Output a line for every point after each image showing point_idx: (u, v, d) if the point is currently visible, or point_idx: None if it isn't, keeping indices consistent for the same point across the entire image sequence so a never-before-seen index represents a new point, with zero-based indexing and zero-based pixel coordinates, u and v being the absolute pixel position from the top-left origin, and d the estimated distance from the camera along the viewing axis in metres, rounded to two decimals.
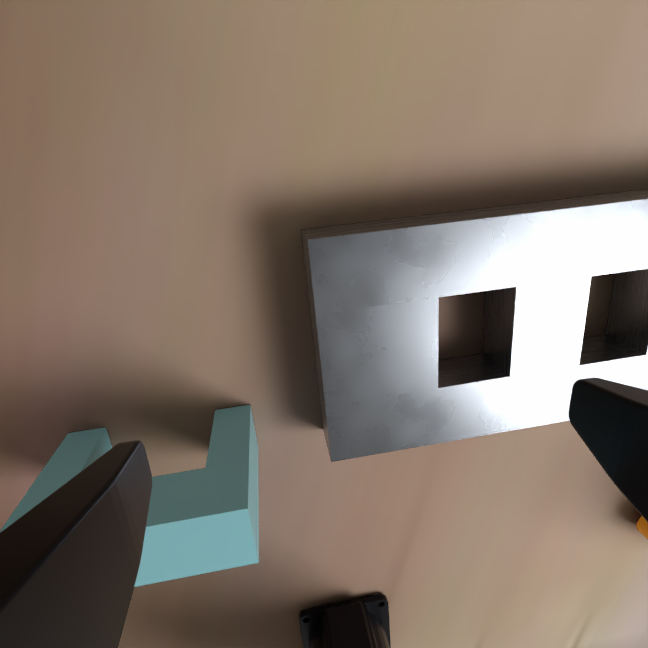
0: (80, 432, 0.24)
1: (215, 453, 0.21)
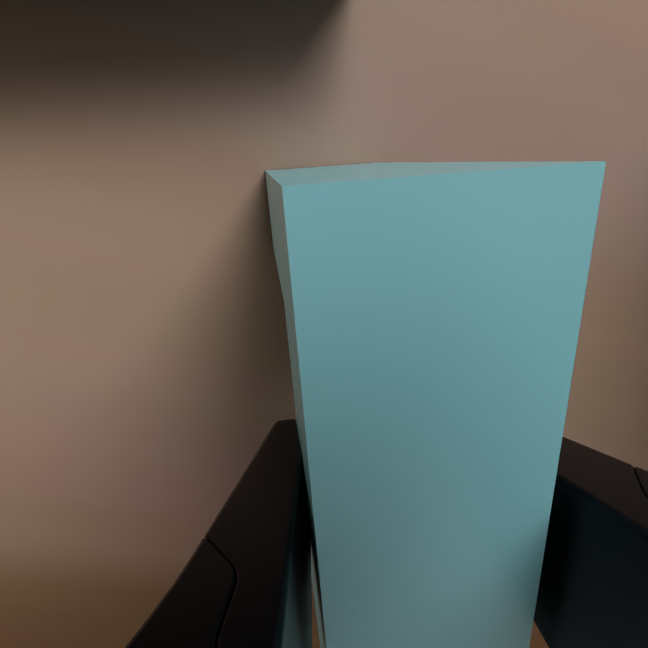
0: None
1: (279, 268, 0.08)
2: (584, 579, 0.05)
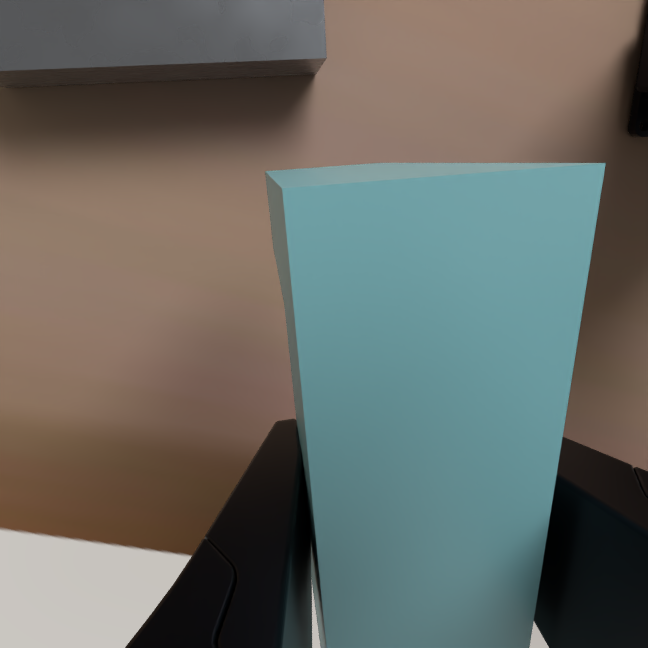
0: None
1: (279, 269, 0.08)
2: (584, 579, 0.05)
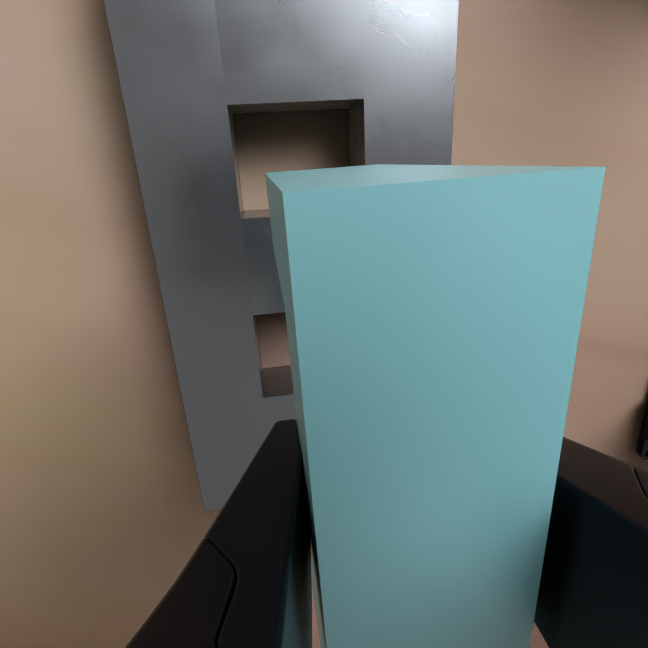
0: None
1: (279, 271, 0.08)
2: (584, 579, 0.05)
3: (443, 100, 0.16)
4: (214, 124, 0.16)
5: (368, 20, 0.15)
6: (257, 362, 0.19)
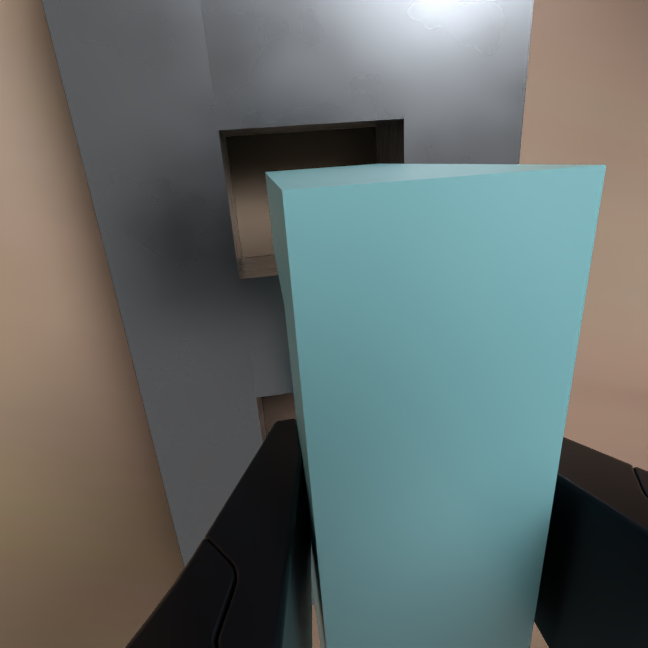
0: None
1: (279, 270, 0.08)
2: (584, 579, 0.05)
3: (509, 118, 0.12)
4: (201, 157, 0.11)
5: (411, 12, 0.11)
6: None
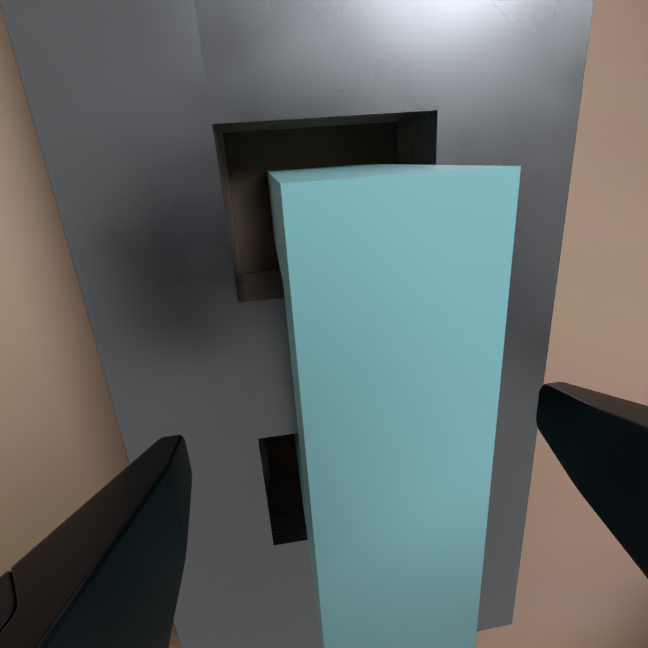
0: None
1: None
2: None
3: (563, 110, 0.10)
4: (191, 156, 0.09)
5: None
6: (265, 500, 0.13)
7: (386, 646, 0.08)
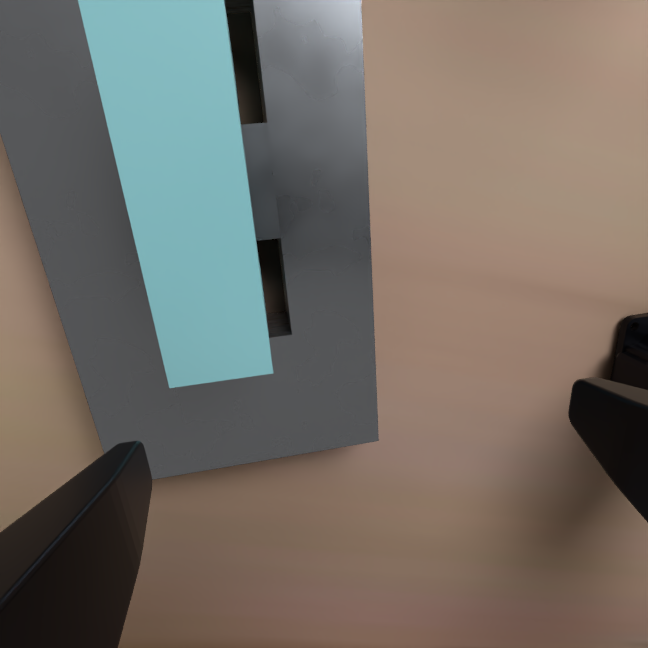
0: None
1: None
2: None
3: None
4: (69, 13, 0.13)
5: None
6: None
7: (202, 335, 0.12)
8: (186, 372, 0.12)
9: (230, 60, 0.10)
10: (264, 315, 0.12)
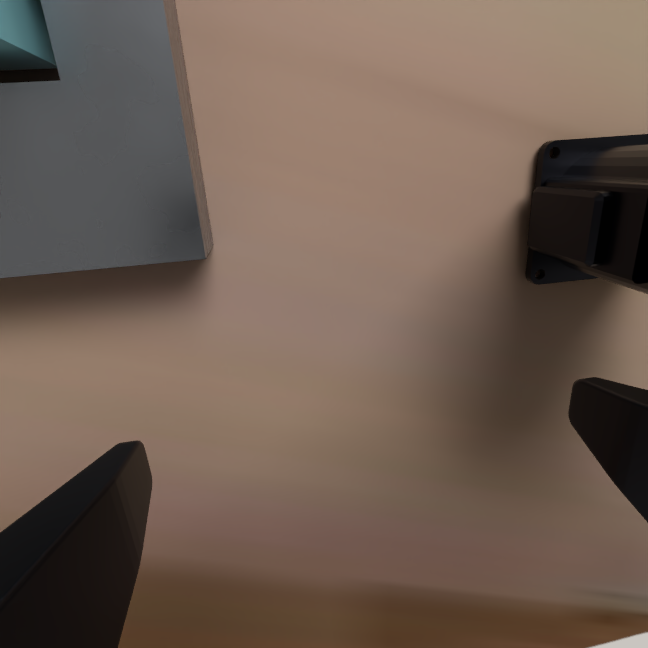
0: None
1: None
2: None
3: None
4: None
5: None
6: None
7: None
8: None
9: None
10: None
